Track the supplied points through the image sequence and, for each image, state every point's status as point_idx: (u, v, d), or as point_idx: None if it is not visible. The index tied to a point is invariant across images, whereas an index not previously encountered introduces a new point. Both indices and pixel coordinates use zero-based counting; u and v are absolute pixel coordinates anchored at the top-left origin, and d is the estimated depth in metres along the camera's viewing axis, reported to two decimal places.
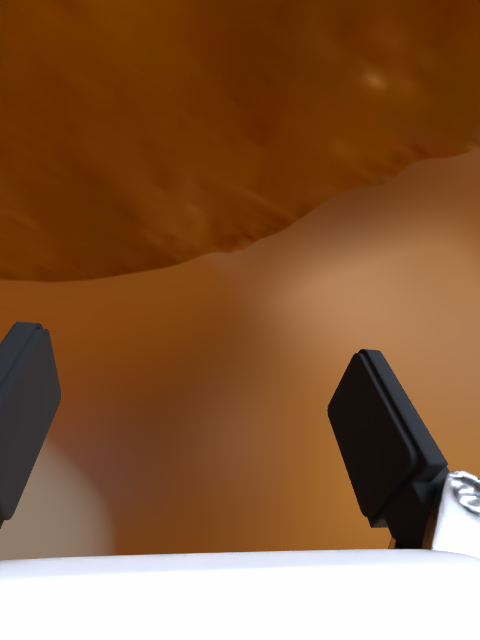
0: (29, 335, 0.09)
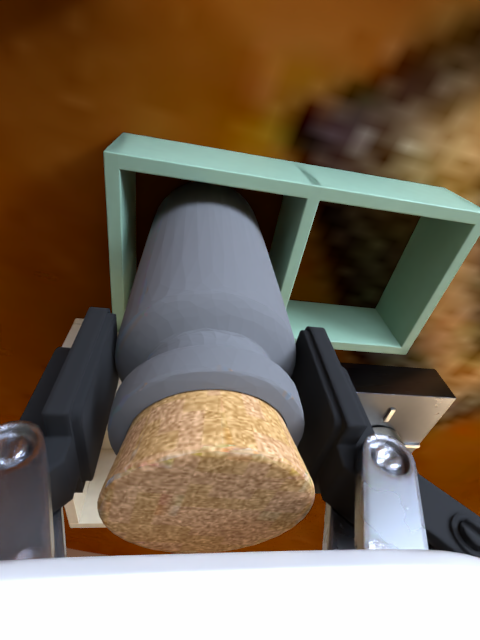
0: (103, 318, 0.10)
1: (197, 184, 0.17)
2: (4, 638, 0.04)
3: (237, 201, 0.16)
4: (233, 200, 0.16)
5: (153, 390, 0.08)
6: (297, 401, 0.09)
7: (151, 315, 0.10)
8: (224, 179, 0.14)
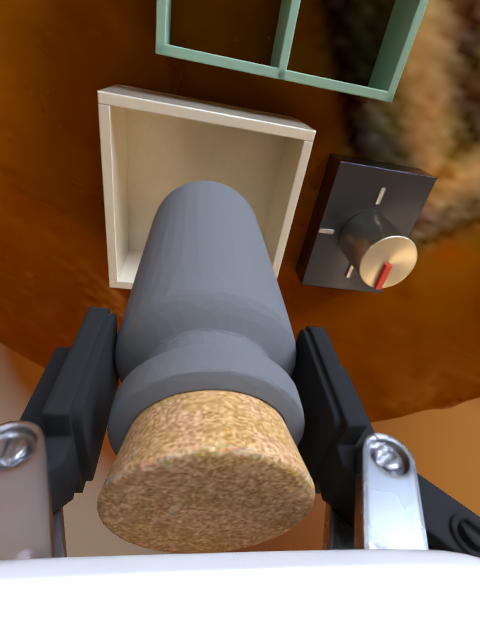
0: (104, 318, 0.10)
1: (197, 184, 0.17)
2: (4, 638, 0.04)
3: (237, 201, 0.16)
4: (233, 200, 0.16)
5: (153, 389, 0.08)
6: (297, 401, 0.09)
7: (151, 315, 0.10)
8: None
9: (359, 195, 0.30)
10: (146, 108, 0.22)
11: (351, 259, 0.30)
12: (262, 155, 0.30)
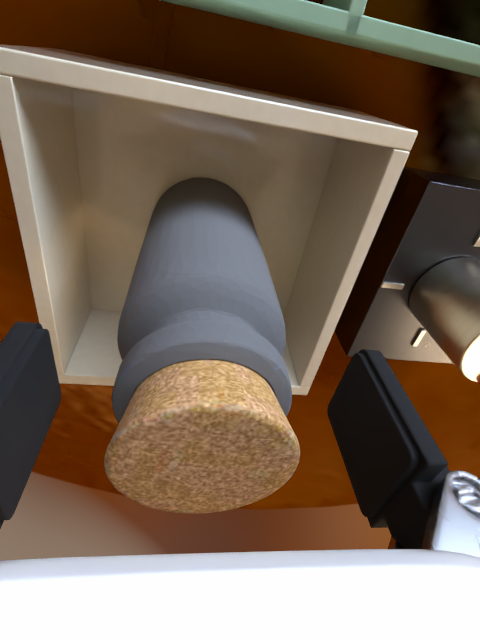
0: (29, 335, 0.09)
1: (193, 180, 0.18)
2: (4, 638, 0.04)
3: (231, 196, 0.17)
4: (227, 195, 0.17)
5: (154, 359, 0.08)
6: (284, 372, 0.09)
7: (151, 297, 0.10)
8: None
9: (450, 233, 0.19)
10: (89, 83, 0.11)
11: (439, 336, 0.19)
12: (298, 170, 0.19)
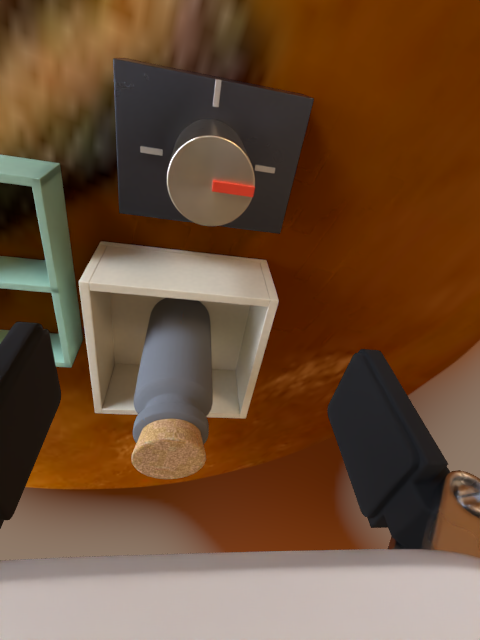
0: (29, 335, 0.09)
1: None
2: (4, 638, 0.04)
3: (150, 320, 0.31)
4: (148, 324, 0.31)
5: None
6: (148, 415, 0.22)
7: None
8: None
9: (154, 181, 0.24)
10: (97, 392, 0.31)
11: None
12: None
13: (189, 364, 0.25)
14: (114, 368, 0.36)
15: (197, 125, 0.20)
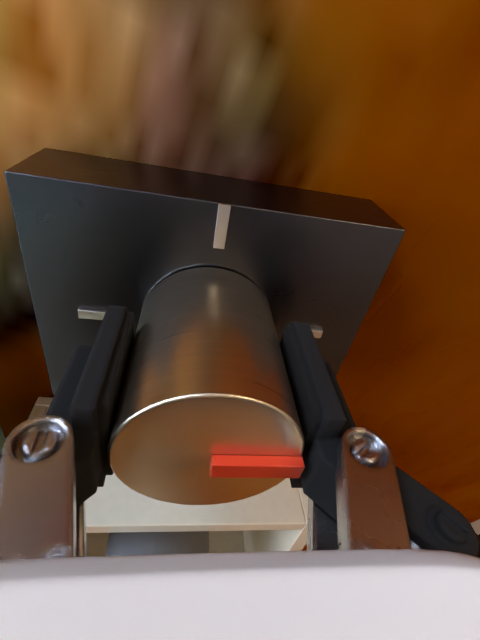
0: (122, 316, 0.10)
1: None
2: (4, 638, 0.04)
3: None
4: None
5: None
6: None
7: None
8: None
9: None
10: None
11: None
12: None
13: None
14: None
15: (181, 299, 0.10)
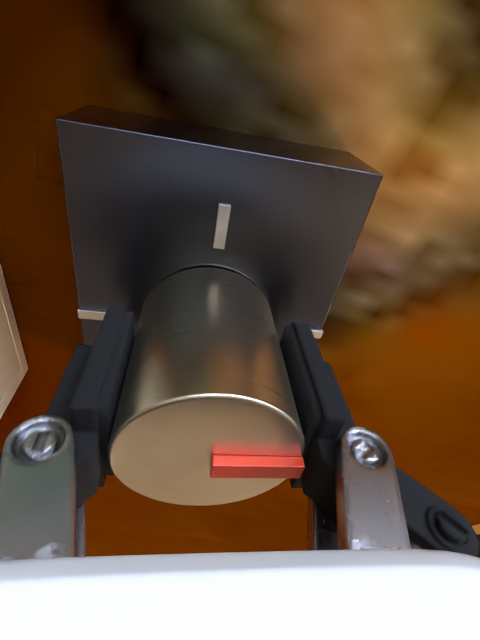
0: (123, 316, 0.10)
1: None
2: (4, 638, 0.04)
3: None
4: None
5: None
6: None
7: None
8: None
9: (158, 223, 0.10)
10: None
11: None
12: None
13: None
14: None
15: (181, 299, 0.10)
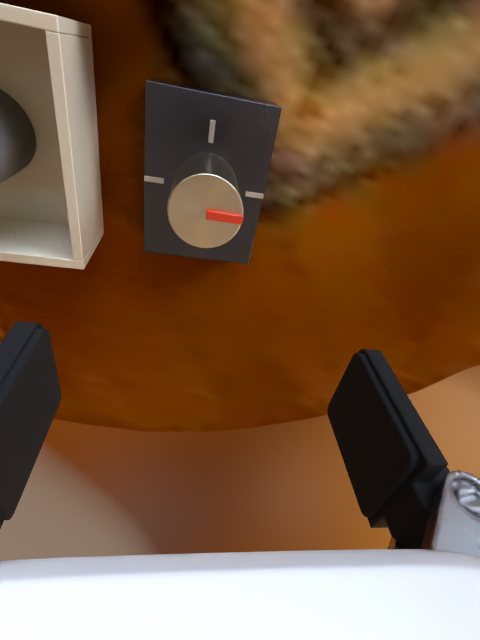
0: (29, 335, 0.09)
1: None
2: (4, 638, 0.04)
3: None
4: None
5: None
6: None
7: None
8: None
9: (183, 129, 0.24)
10: None
11: None
12: None
13: None
14: None
15: (194, 160, 0.23)
